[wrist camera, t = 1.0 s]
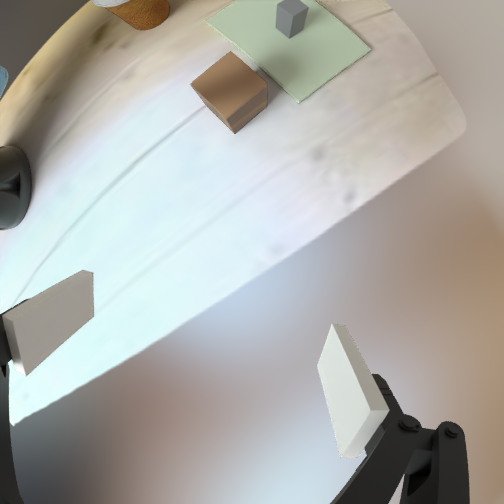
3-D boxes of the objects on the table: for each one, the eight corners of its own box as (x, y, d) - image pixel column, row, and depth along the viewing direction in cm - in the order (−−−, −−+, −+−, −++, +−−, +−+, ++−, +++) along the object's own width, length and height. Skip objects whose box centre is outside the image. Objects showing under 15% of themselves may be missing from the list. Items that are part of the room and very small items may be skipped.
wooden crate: (206, 106, 33) (190, 84, 24) (238, 79, 32) (230, 51, 23) (234, 134, 33) (225, 118, 25) (266, 106, 32) (267, 83, 24)
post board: (206, 24, 30) (196, -2, 23) (279, -20, 27) (280, -47, 20) (298, 103, 32) (306, 85, 25) (368, 52, 30) (386, 30, 23)
